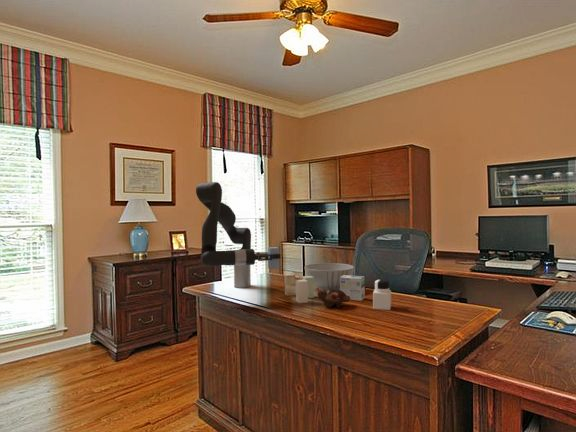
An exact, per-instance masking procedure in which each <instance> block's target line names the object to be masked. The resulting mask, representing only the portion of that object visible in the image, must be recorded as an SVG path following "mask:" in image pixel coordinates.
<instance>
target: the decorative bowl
mask: <svg viewBox="0 0 576 432" xmlns="http://www.w3.org/2000/svg"><path fill="white" fill-rule="evenodd" d="M354 270H355V266H354V265H352V264H348V263H337V262H336V263H335V262H320V263H310V264H307V265H305V266H304V271H305V273H306V276H312V277H314V286H315V287H317V289H318V291H319V290H325V291H327V290H329V289H338V290H340V277H341V276H343V275H349V276H353V274H354Z"/></svg>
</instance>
